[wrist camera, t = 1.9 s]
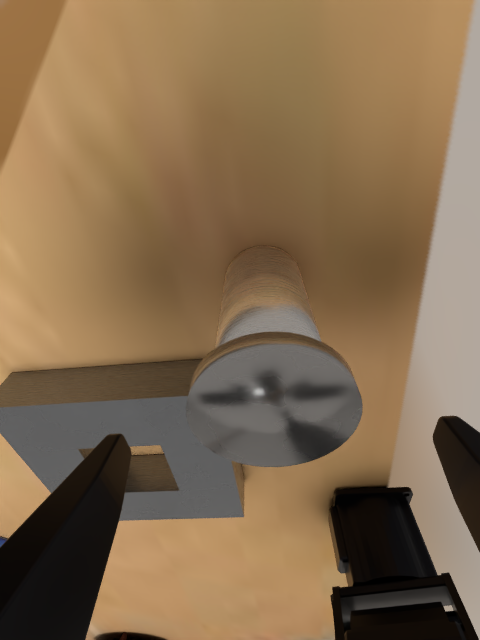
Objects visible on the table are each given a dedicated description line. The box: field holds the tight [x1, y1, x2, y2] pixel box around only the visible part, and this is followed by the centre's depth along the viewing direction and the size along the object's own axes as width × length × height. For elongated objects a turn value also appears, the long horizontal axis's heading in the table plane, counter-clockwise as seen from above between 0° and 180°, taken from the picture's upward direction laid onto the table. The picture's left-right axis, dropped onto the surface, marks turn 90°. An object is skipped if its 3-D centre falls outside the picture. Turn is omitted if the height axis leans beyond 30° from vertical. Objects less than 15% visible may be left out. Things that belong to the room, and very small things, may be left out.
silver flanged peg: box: [186, 246, 362, 467], centre depth 13 cm, size 5×5×9 cm
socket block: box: [0, 359, 244, 521], centre depth 23 cm, size 14×14×3 cm
